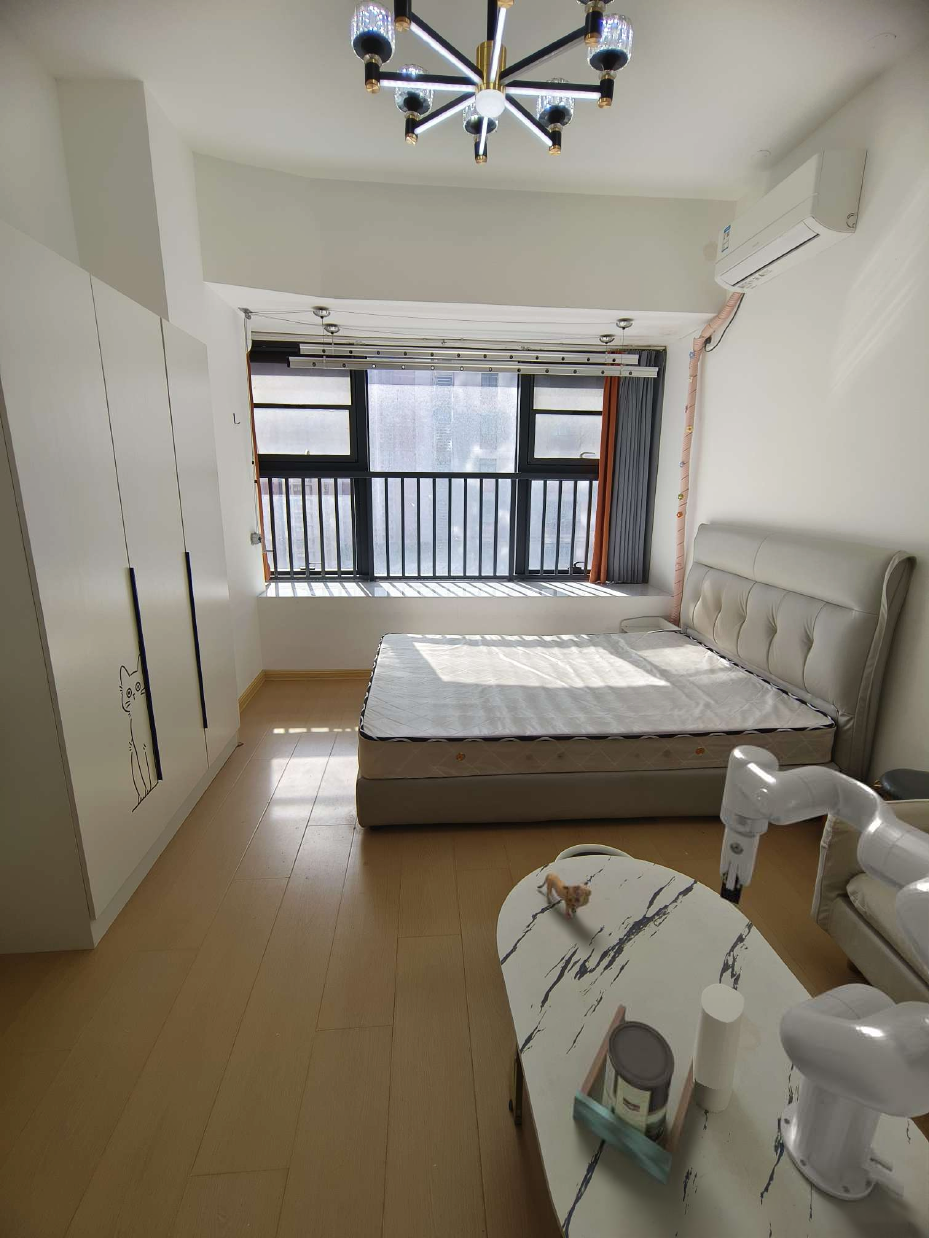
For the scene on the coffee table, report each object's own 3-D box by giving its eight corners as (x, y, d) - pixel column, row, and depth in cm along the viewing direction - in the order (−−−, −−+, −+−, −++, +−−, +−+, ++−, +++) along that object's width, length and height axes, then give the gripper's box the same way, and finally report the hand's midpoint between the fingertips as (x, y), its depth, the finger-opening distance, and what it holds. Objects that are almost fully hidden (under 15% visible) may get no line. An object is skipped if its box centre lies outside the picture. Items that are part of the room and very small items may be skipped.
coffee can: (655, 1080, 97) (663, 1021, 93) (673, 1151, 87) (683, 1088, 83) (596, 1077, 97) (602, 1018, 93) (608, 1147, 87) (615, 1085, 83)
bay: (700, 1063, 99) (704, 1043, 98) (666, 1184, 83) (669, 1162, 82) (618, 1015, 108) (620, 995, 107) (572, 1116, 92) (574, 1095, 90)
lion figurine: (593, 914, 132) (595, 884, 129) (581, 928, 128) (583, 897, 125) (542, 883, 141) (544, 854, 139) (530, 895, 137) (531, 865, 135)
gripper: (762, 846, 89) (745, 935, 94) (773, 800, 100) (757, 881, 106) (713, 829, 93) (699, 915, 98) (729, 787, 104) (716, 866, 110)
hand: (729, 898), depth 102 cm, fingers closed
